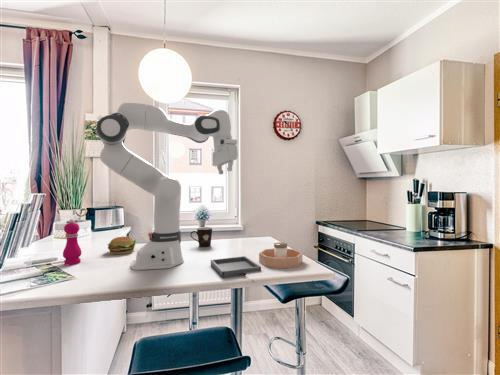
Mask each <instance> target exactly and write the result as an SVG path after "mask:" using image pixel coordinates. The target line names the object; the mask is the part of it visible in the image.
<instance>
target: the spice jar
mask: <svg viewBox="0 0 500 375" xmlns="http://www.w3.org/2000/svg"><path fill="white" fill-rule="evenodd" d="M273 247H274V248H273V249H274V257H276V258H287V249H288V243H287V242H274V243H273Z"/></svg>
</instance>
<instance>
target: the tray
mask: <svg viewBox="0 0 500 375" xmlns="http://www.w3.org/2000/svg"><path fill="white" fill-rule="evenodd" d="M210 266H211V267H212V269H213V270H214V271H215V273H217V274H218V275H219V276H220V277H221V279H227V278H235V277H242V276H247V274H248V273H255V272H261V271H262V266H260V265H259V264H257V263H256V262H255V261H253V260H251V259H250V258H248V257H247V256H245V255H244V256H234V257H224V258H217V259H210Z"/></svg>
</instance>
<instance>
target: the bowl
mask: <svg viewBox="0 0 500 375" xmlns="http://www.w3.org/2000/svg"><path fill="white" fill-rule="evenodd" d="M258 262H259V264H261V265H263V266H265V267H268V268H275V269H289V268H296V267H299V266H300V265H301V264H302V263H303V252H301V251H299V250H296V249H294V248H287V258H276V257H274V248H267V249H266V248H265V249H264V250H262V251H260V252H259V253H258Z"/></svg>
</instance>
